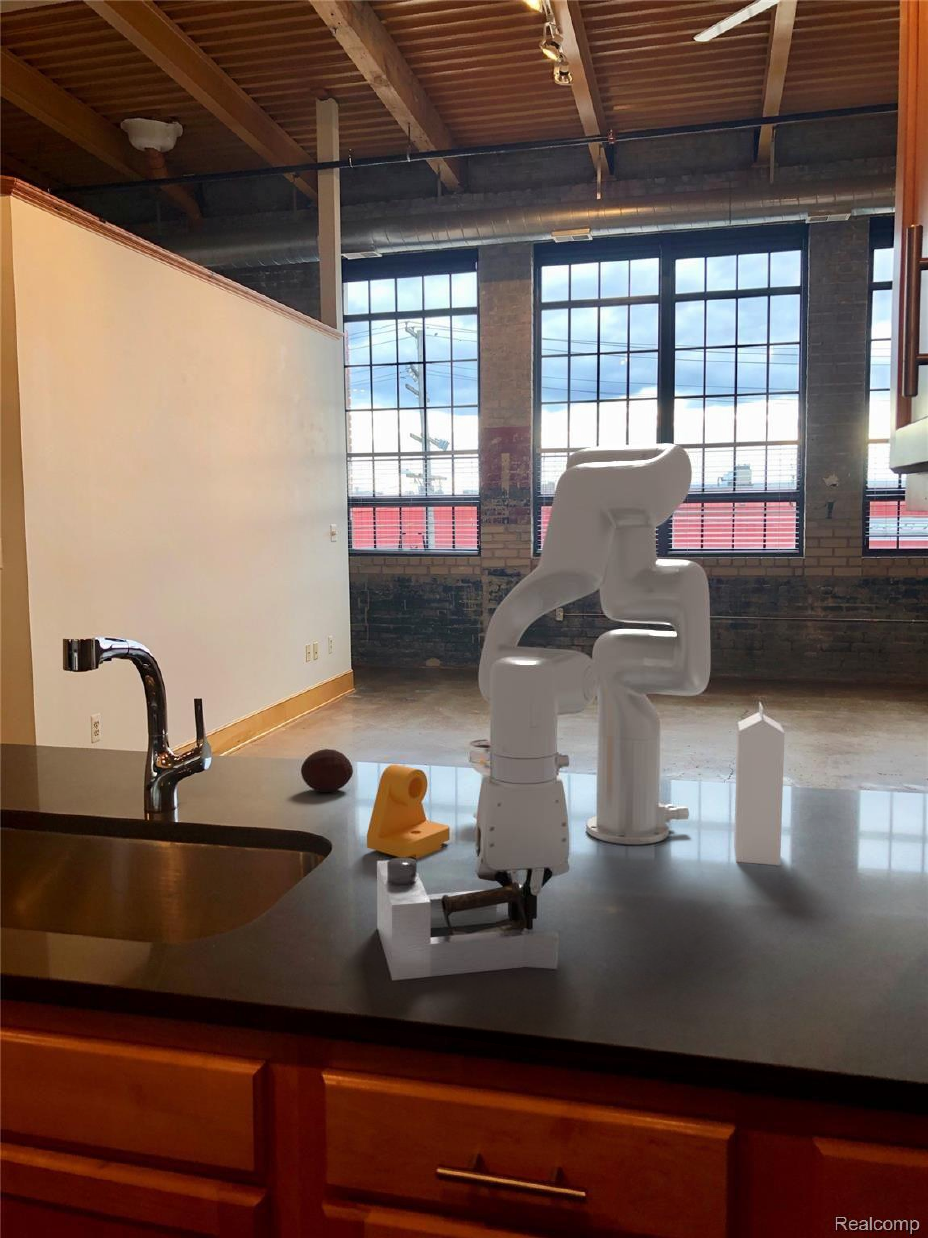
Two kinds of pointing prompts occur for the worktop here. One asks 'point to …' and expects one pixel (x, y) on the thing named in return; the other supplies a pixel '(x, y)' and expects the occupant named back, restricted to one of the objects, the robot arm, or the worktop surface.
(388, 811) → the bracket
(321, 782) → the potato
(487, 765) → the wineglass
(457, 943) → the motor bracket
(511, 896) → the clothes iron
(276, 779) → the worktop surface
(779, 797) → the milk
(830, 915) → the worktop surface
